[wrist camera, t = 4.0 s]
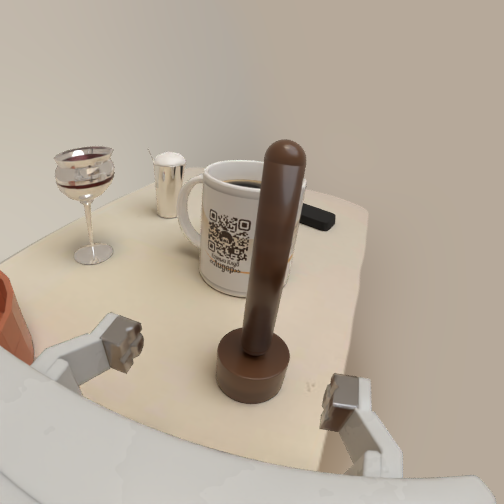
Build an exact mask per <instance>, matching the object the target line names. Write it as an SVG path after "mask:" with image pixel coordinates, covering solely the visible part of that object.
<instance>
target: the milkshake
mask: <svg viewBox="0 0 504 504" xmlns="http://www.w3.org/2000/svg"><path fill="white" fill-rule="evenodd" d="M153 164H154V175H155V187H156V200H157V211H158V215H159V216H160V217H163V218H174V217H176V216H177V208H176V207H177V198H178V195H179V192H180V190H181V188H182V184H183V178H184V171H185V164H186V160H185V158H184V157H183V156H182V155H180V154H177V153H175V152H165V153H163V154H160V155H158V156H157V157H155V159H154V160H153Z"/></svg>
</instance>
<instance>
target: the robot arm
mask: <svg viewBox="0 0 504 504" xmlns="http://www.w3.org/2000/svg"><path fill="white" fill-rule="evenodd" d="M141 330H142V326H141V323H139V322H136V321H134V320H131V319H128V318H126V317H123V316H121V315H118V314H115V313H113V312H110V313H108V314H107V315H106V316H105V317H104V318H103V319H102V320H101V322H100V323H99V324H98V325H97V326H96V327H95V329H94V330H93V331H92V332H91V333H90V334H88V333H86V334H84V335H81V336H78V337H76V338H73V339H70V340H68V341H65V342H62V343H60V344H57V345H54V346H51V347H49V348H46V349H45V350H44V351H43V352H42V353H41V354H40V355H39V356H38V357H37V359H36V360H35V361H34V362H33V363H32V364H31V365H30V366H29V365H28V364H26V363H25V362H23V361H22V360H20V359H19V358H17V357H16V356H14V355H13V354H11V353H10V352H8V351H7V350H6V349H4V348H3V347H1V346H0V504H496V499H495V496H494V495H493V493H492V492H491V491H490V489H489V488H488V487H487V486H486V485H485V483H484V482H483V481H482V480H481V479H480V478H479V477H478V476H475V475H466V476H454V477H437V478H403V452H402V451H401V449H400V448H399V446H398V445H397V443H396V442H395V440H394V439H393V438H392V436H391V435H390V433H389V432H388V430H387V429H386V427H385V426H384V425H383V423H382V422H381V420H380V419H379V417H378V416H377V414H376V413H375V412H372V410H371V381H370V379H367V378H361V377H355V376H349V375H343V374H337V373H334V374H333V376H332V378H331V383H330V384H329V385H328V386H327V388H326V390H325V394H324V397H323V403H322V407H323V409H324V411H323V412H322V414H321V419H320V428H319V429H324V430H330V431H335V432H339V434H340V436H341V439H342V441H343V443H344V445H345V447H346V449H347V451H348V453H349V455H350V457H351V460H352V462H353V465H352V466H351V468H349V469H348V470H347V471H346V472H345V473H344V474H343V475H341V474H333V473H325V472H317V471H311V470H304V469H298V468H292V467H287V466H282V465H276V464H272V463H267V462H262V461H258V460H254V459H249V458H245V457H241V456H237V455H234V454H230V453H226V452H223V451H219V450H216V449H212V448H209V447H206V446H203V445H199V444H196V443H193V442H190V441H187V440H184V439H181V438H178V437H175V436H173V435H170V434H167V433H164V432H162V431H159V430H156V429H154V428H151V427H149V426H146V425H144V424H141V423H139V422H137V421H134V420H132V419H130V418H127V417H125V416H123V415H120V414H118V413H116V412H114V411H112V410H110V409H107V408H105V407H103V406H101V405H99V404H97V403H95V402H93V401H91V400H89V399H87V398H85V397H83V394H82V392H81V390H80V388H79V386H80V385H81V384H83V383H85V382H87V381H89V380H90V379H92V378H94V377H96V376H98V375H100V374H101V373H103V372H105V371H107V370H108V369H110V368H113V369H115V370H118V371H120V372H123V373H126V374H127V372H128V371H129V369H130V368H131V366H132V365H133V358H135V357H138V356H139V354H140V353H141V351H142V348H143V344H144V338H143V336H142V334H141V333H140V331H141Z"/></svg>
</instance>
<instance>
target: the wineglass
mask: <svg viewBox="0 0 504 504" xmlns="http://www.w3.org/2000/svg"><path fill="white" fill-rule="evenodd" d="M112 153H113V149H112V148H109V147H102V146H92V147H82V148H77V149H72V150H67V151H65V152H62V153H59V154H57V155H56V156H55V157H54V159H55V161H56V163H57V168H56V170H55V179H56V183H57V186H58V188H59V190H60V191H61V192H62V193H63V194H65V195H66V196H67V197H69V198H70V199H73V200H77V201H80V203H81V204H83V205H84V209H85V216H86V222H87V228H88V234H89V239H90V244H87V245H84V246H82V247H80V248H79V249H78V250H77V251H76V252H75V254H74V258H75V260H76V261H77V262H79V263H82V264H96V263H100V262H103V261H105V260H107V259H108V258H109V257H111V255H112V253H113V249H112V247H111V246H109V245H108V244H104V243H93V232H92V220H91V203H92V202H93V200H94V198H96V197H98V196H100V195H102V194H103V193H104V192H105V190H106V189H107V188H108V187H109V185H110V184H111V182H112V180H113V177H114V173H115V172H114V168H115V167H114V164H113V162H112V160H111V158H110V157H111V154H112Z"/></svg>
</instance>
